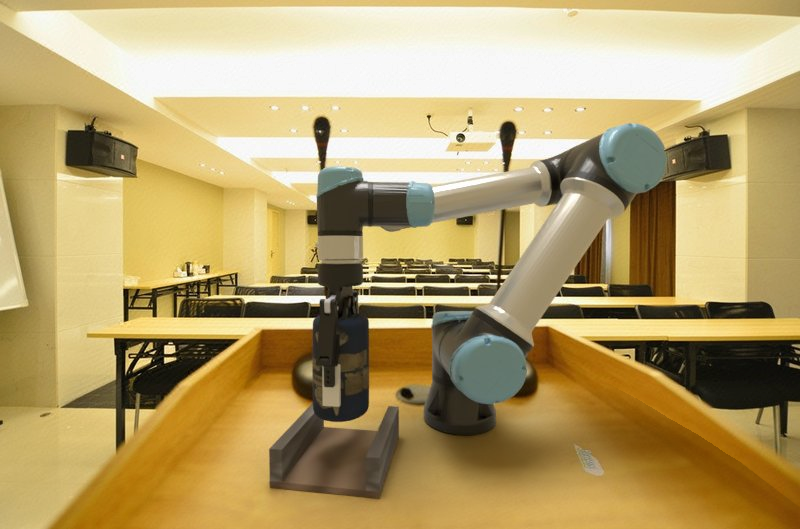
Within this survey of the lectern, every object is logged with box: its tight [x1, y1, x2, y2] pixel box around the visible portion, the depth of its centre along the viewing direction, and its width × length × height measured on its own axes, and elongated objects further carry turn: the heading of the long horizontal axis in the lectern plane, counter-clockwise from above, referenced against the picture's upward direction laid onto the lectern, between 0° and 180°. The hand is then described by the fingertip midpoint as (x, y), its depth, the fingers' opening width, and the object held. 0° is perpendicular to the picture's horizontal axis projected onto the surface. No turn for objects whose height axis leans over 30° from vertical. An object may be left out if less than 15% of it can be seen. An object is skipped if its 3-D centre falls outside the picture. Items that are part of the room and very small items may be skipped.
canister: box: [311, 313, 370, 423], centre depth 64 cm, size 10×10×18 cm
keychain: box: [573, 443, 605, 477], centre depth 66 cm, size 10×1×3 cm
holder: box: [268, 402, 400, 499], centre depth 65 cm, size 17×18×6 cm
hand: (341, 393), depth 65 cm, fingers closed on canister, 9 cm apart
